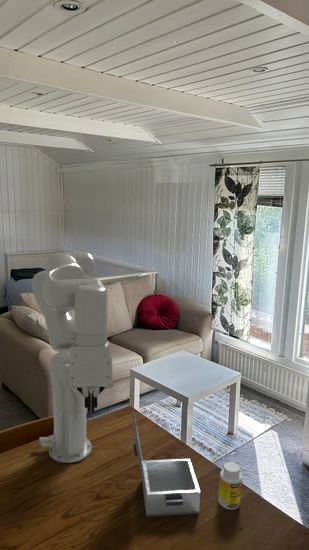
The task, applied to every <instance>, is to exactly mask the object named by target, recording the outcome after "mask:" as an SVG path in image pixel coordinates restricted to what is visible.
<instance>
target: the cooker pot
mask: <svg viewBox="0 0 309 550" xmlns="http://www.w3.org/2000/svg"><path fill="white" fill-rule="evenodd" d="M143 465H144V473H145V480H146V488H147V493H146V494H144V491H143V490H142V491H143V499H144V507H145V508H144V509H145V515H146V516H145V517H147V518H148V517H162V516H163V517H164V516H177V515H178V516H180V515H195V514H198V515H199V514H200V505H201V504H200V503H201V489H200V486H199V483H198V480H197V477H196V474H195V471H194V468H193V465H192V462H191V458H165V459H161V458H160V459H150V460H143Z"/></svg>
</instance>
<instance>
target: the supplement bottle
mask: <svg viewBox="0 0 309 550" xmlns="http://www.w3.org/2000/svg"><path fill="white" fill-rule="evenodd" d="M242 485H243V474H242V472H241V468H240V465H239V464H237V463H236V462H233V461H228V462H225V463H224V465H223V469H221V471H220V473H219V487H218V489H219V490H218V499H217V500H218V503H219V505H220V506H221V507H223V508H225V509H227V510H236V509H238V508H239V507H240V505H241V501H242V500H241V499H242V488H243V486H242Z"/></svg>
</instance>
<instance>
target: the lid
mask: <svg viewBox="0 0 309 550" xmlns="http://www.w3.org/2000/svg"><path fill="white" fill-rule="evenodd" d="M131 420H132V427H133V428H131V431H132V433H133V435H134V437H133V438H134V443H133V444H132V446H133V452H134V457H137V460H138V461H137V462H138V465H139V466H138V467H139V472H140V478H141V484H142V491H144V492H143V495H144V494H146V493H147V488H146V480H145V473H144V465H143V461H144V459H143V455H142V449H141V448H142V447H141V441H140V436H139V432H138V431H139V430H138V426H137V419H136V414H135V410H133V411H131Z"/></svg>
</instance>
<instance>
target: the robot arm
mask: <svg viewBox="0 0 309 550" xmlns="http://www.w3.org/2000/svg"><path fill="white" fill-rule="evenodd" d="M95 273H96V262H95V259H94V257H93V256H92V255H91V253H89V252H86V251H67V252H66V251H63V252H61V251H60V252H55V253H53V254H51V255H50V256H49V257H48V258H47V260H46V263H45V270H41V271H39V272H37V273H36V274H34V276H33V277H32V281H31V283H32V284H31V285H32V287H31V288H32V292H33V293H32V294H33V297H34V299H35V302H36V304H37V307H38V308H39V310H40V311H41V313H42V314H43V317H44V321H45V327H46V332H47V337H48V340H49V341H48V342H49V344H50V347H51V349H52V350H53V351H55V352H57V353H54V354H53V355H52V356H51V357H50V360H49V363H48V364H49V365H48V366H49V373H50V380H51V385H52V396H53V397H52V399H53V400H52V401H53V402H52V403H53V435H50V436H49V437H46V436H42V437H41V436H39V440H38V441H39V442H38V443H39V445H41V448H42V449H43V448H44V449H46V448H48V454H49V456H50V458H51V459H52V460H54V461H56V462H58V463H63V464H64V463H66V464H70V463H72V464H73V463H77V462H80V461H82V460H83V459H85V458H87V457H88V456H89V455H90V454H91V452H92V442H91V441H90V440H89V439H88V438H87V414H90V413H92V414H94V413H95V409H96V408H98V397H99V395H100V394H101V393H102V392H103V391H104V390H107V389H111V388H113V387H114V380H113V378H114V377H113V376H114V375H113V373H114V372H113V354H112V348H111V347H112V346H111V344H110V343H111V342H110V341H109V340H108V291H107V289H106V287H105V285H104V284H103V282H102V281H101V280H100V279H97V278H94V276H95ZM72 311H74V318H73V313H72ZM89 388H93V390H92V392H91V391H90V389H89Z"/></svg>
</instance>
